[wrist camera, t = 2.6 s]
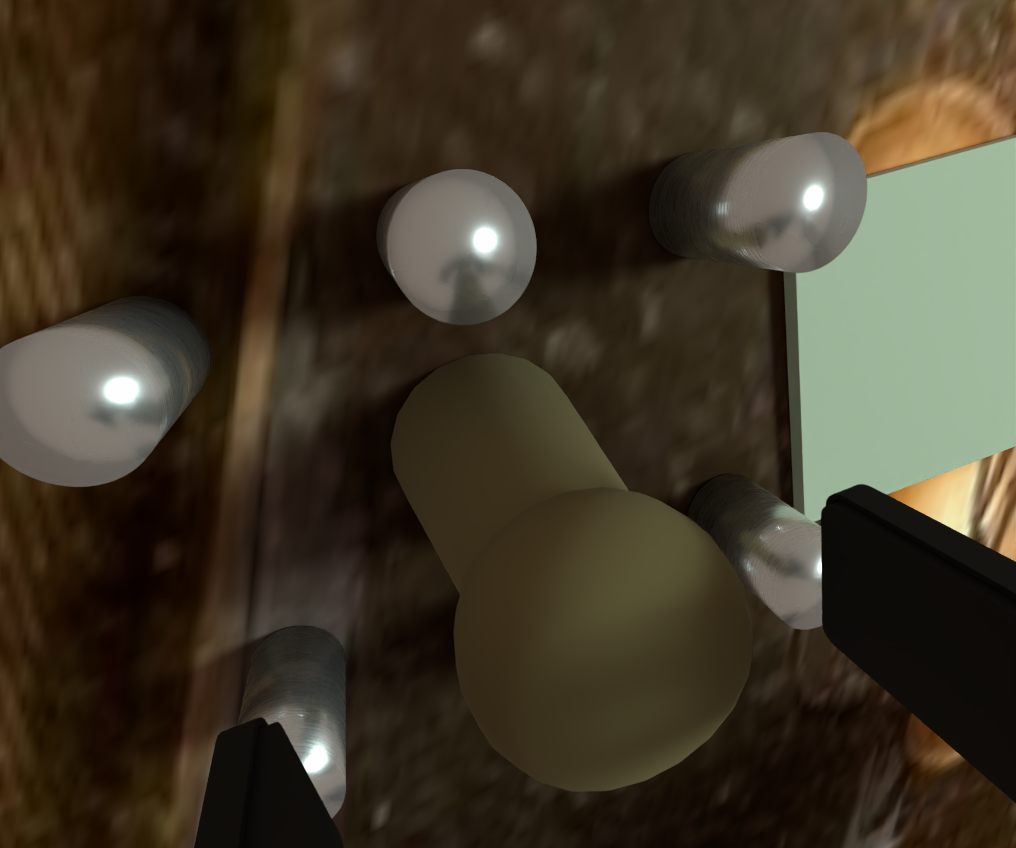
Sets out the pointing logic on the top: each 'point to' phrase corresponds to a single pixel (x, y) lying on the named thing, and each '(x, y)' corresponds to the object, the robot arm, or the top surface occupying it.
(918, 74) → the top surface
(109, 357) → the spacer field
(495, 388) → the olive rounded piece
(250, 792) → the robot arm
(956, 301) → the mat
